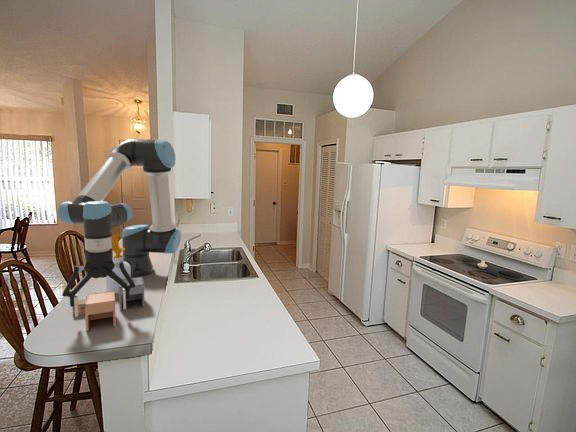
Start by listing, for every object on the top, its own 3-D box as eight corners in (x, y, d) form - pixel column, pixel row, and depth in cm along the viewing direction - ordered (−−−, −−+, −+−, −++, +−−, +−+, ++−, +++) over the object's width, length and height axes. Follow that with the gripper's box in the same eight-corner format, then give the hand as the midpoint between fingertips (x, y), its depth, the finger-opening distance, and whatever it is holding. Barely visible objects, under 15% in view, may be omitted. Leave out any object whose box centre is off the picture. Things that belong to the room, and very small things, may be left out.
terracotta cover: (87, 319, 104) (86, 294, 103) (115, 315, 108) (114, 291, 107) (86, 331, 97) (84, 304, 96) (115, 326, 101) (115, 300, 100)
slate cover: (119, 301, 119) (118, 279, 118) (142, 298, 123) (142, 276, 122) (119, 310, 112) (119, 286, 111) (144, 306, 116) (144, 283, 115)
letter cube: (74, 310, 110) (74, 300, 109) (87, 309, 112) (87, 298, 111) (72, 316, 106) (72, 305, 106) (86, 314, 108) (86, 303, 108)
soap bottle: (115, 295, 124) (114, 236, 120) (101, 291, 128) (99, 233, 124) (135, 288, 132) (134, 232, 128) (121, 284, 136) (120, 229, 132)
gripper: (48, 256, 90) (53, 323, 93) (142, 249, 102) (143, 309, 105) (52, 249, 96) (56, 313, 99) (140, 243, 108) (141, 300, 112)
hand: (101, 311), depth 102 cm, fingers open, 13 cm apart
